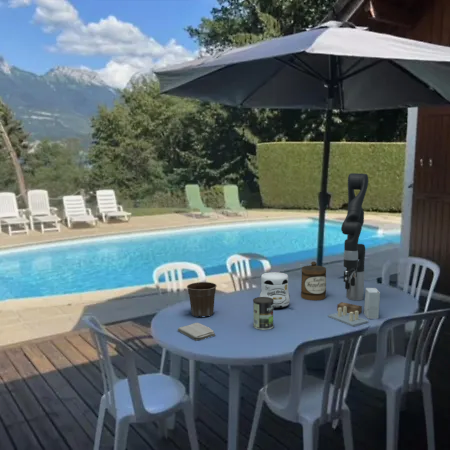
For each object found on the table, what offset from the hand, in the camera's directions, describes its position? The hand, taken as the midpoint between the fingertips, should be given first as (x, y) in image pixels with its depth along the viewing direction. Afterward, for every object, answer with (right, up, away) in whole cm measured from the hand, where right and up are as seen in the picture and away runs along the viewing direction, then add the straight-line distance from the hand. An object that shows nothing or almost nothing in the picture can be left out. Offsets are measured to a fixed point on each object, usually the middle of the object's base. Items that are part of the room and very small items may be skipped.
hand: (350, 287), depth 269 cm
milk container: (-40, -13, +14) cm, 44 cm away
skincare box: (+10, -15, -6) cm, 19 cm away
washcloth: (-82, -20, -27) cm, 89 cm away
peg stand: (-4, -16, -11) cm, 19 cm away
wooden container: (-15, -10, +30) cm, 35 cm away
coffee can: (-49, -18, -19) cm, 55 cm away
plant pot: (-81, -15, +2) cm, 82 cm away
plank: (0, -14, +2) cm, 14 cm away
